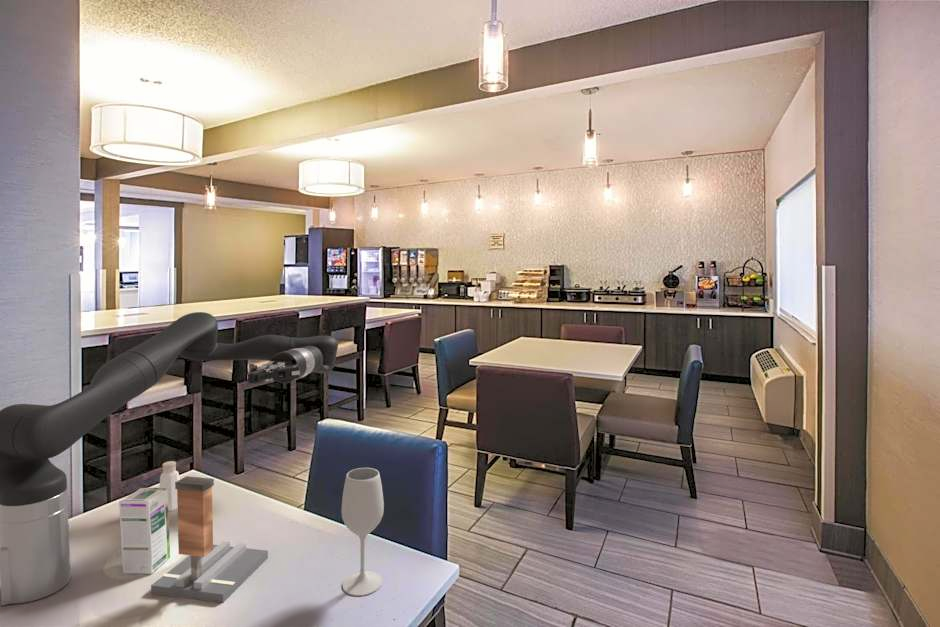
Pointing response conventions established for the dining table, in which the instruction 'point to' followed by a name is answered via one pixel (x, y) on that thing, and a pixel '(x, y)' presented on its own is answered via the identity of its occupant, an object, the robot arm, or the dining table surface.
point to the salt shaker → (170, 483)
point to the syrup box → (144, 530)
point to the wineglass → (362, 522)
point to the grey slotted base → (212, 573)
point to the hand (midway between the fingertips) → (251, 378)
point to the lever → (195, 520)
